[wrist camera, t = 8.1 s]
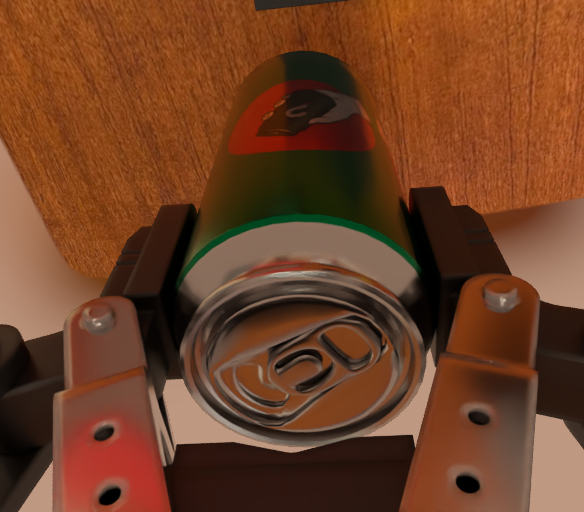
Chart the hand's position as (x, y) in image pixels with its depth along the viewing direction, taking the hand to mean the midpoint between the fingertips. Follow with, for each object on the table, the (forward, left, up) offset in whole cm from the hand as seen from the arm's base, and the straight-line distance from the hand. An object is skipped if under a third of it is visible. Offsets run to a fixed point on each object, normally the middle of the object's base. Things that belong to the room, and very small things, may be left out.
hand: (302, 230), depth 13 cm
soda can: (0, 0, -8) cm, 8 cm away
